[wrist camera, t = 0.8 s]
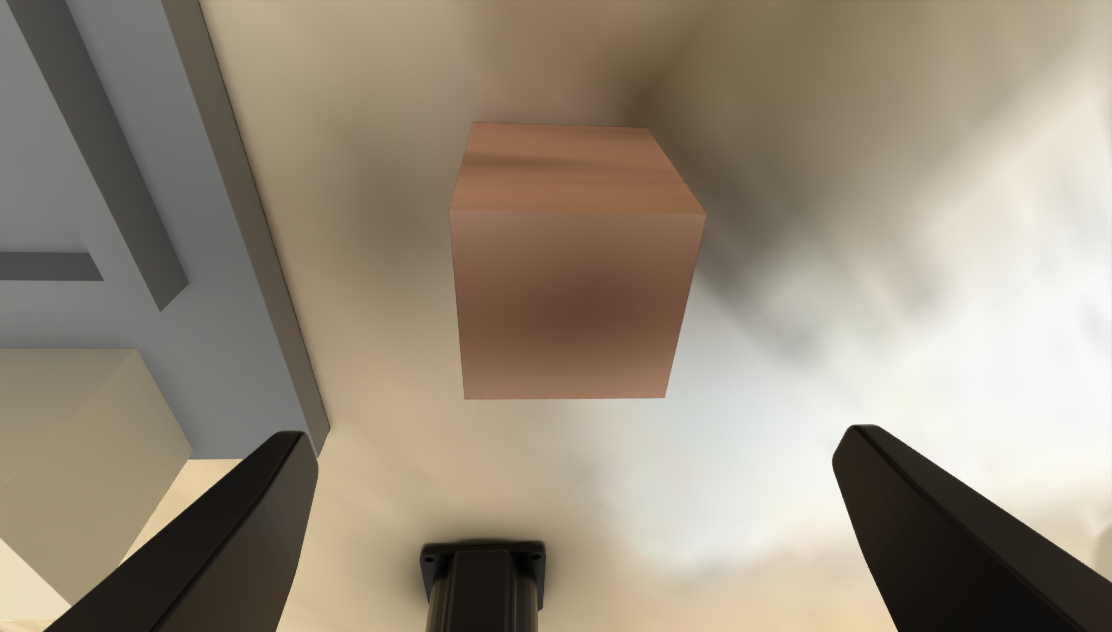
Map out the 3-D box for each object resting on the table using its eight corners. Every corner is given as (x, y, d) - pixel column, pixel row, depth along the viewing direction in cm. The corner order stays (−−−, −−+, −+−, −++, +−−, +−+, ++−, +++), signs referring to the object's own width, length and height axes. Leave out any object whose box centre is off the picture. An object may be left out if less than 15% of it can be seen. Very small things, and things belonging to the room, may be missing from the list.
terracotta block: (625, 275, 18) (664, 397, 13) (480, 273, 17) (464, 399, 13) (646, 127, 15) (707, 214, 10) (473, 122, 15) (448, 209, 10)
